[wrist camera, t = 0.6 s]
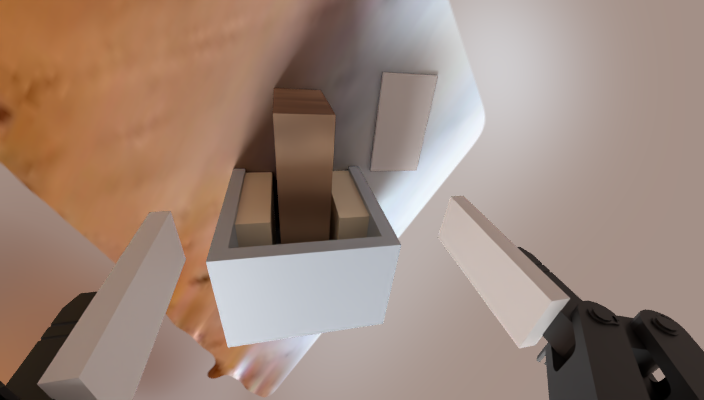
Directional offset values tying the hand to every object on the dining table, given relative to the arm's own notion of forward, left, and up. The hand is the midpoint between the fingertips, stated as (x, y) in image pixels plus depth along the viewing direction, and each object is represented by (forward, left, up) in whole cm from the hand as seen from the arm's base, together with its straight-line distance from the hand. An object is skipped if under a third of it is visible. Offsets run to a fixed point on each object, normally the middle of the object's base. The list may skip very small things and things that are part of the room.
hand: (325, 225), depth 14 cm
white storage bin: (+11, 0, -19) cm, 22 cm away
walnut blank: (+4, 0, -19) cm, 19 cm away
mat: (+1, +11, -19) cm, 22 cm away
